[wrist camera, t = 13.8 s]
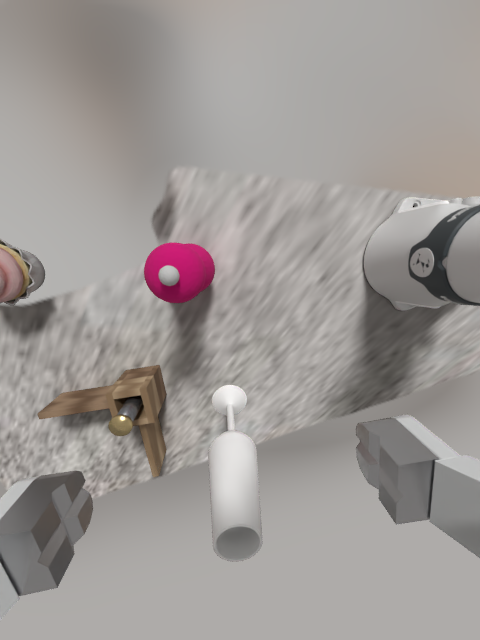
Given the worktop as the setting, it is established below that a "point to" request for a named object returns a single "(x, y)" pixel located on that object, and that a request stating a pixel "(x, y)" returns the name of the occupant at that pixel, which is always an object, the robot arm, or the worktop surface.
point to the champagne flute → (234, 483)
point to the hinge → (114, 398)
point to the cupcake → (18, 273)
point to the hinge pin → (126, 416)
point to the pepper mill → (178, 271)
